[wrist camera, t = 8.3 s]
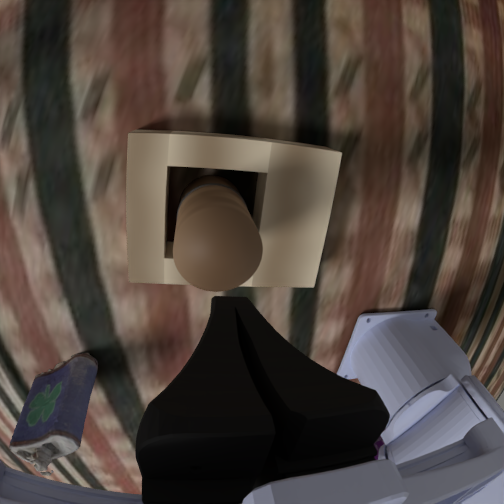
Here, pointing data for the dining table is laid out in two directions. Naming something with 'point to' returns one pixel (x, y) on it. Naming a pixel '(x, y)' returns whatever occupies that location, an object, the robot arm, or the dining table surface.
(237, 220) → the peg
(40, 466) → the flask
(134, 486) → the dining table surface
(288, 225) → the board
